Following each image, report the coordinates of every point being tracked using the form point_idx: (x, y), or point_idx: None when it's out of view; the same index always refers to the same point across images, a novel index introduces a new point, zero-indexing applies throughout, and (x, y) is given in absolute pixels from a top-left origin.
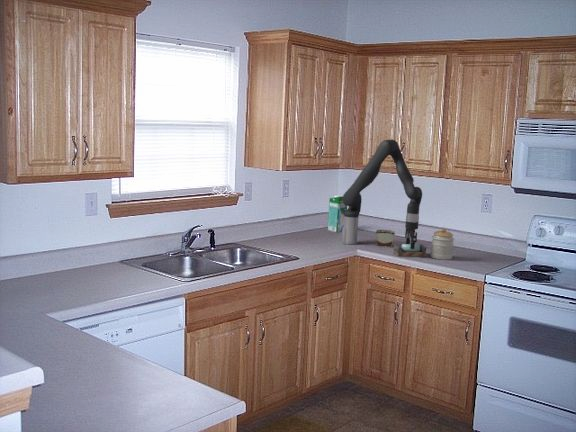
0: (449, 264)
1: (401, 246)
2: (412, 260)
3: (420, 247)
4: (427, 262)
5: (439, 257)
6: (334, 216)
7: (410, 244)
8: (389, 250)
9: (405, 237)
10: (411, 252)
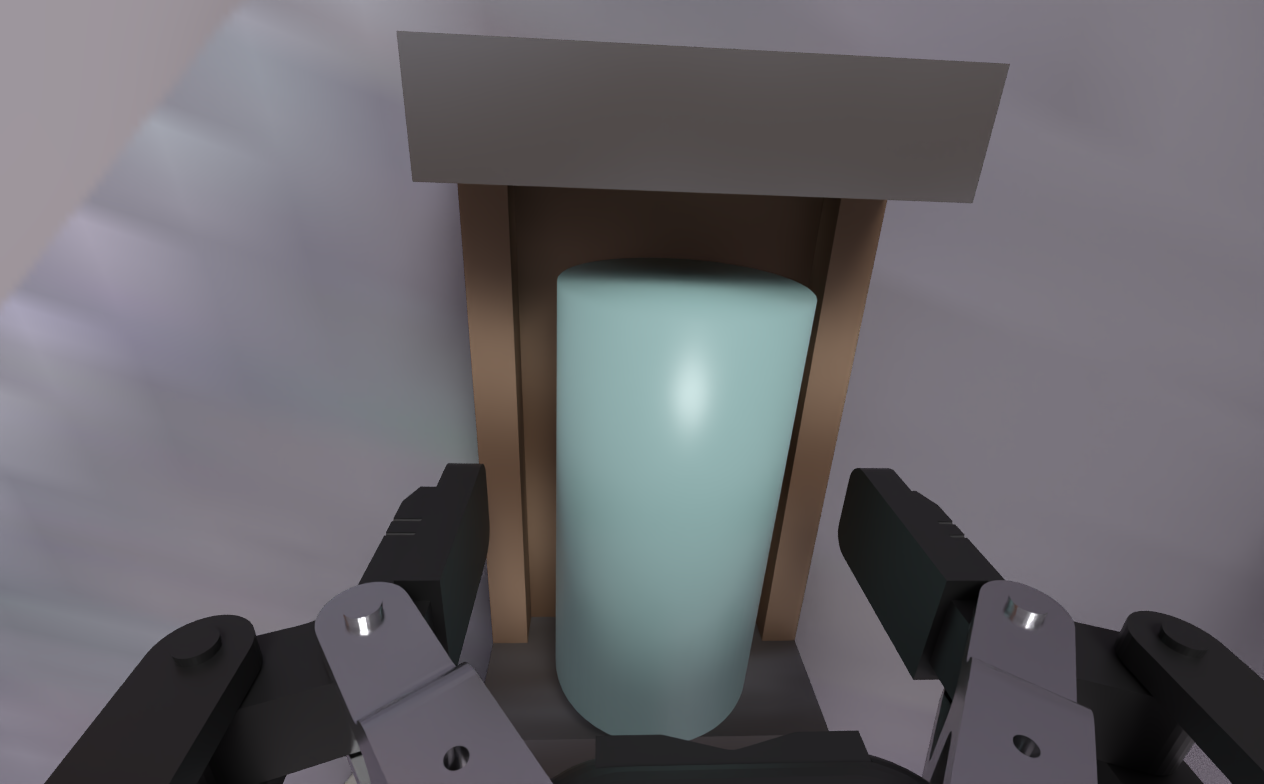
0: (34, 777)
1: (795, 297)
2: (103, 296)
3: None
4: (30, 531)
5: (347, 780)
6: None
7: (668, 560)
8: (1170, 98)
9: (1139, 630)
10: (487, 437)
